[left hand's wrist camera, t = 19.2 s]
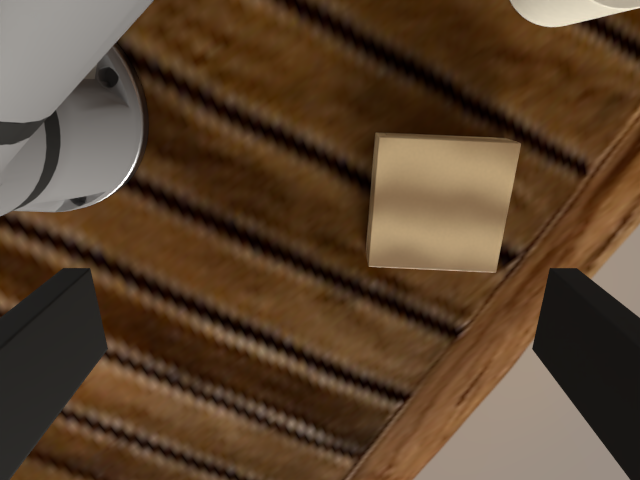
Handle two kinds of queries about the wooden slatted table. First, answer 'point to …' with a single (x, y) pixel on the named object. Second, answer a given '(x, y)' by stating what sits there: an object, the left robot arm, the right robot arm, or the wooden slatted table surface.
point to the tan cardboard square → (439, 201)
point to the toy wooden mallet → (569, 10)
